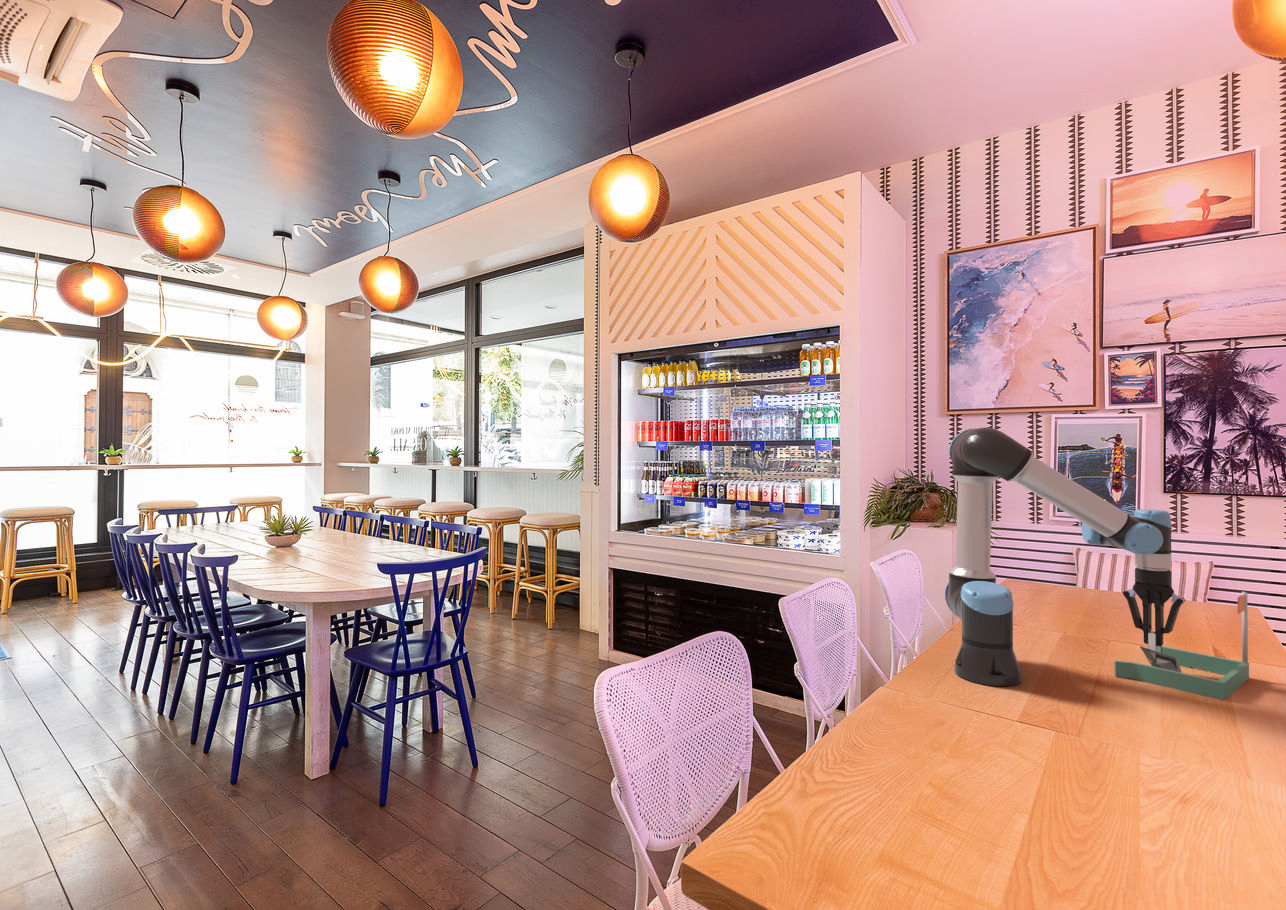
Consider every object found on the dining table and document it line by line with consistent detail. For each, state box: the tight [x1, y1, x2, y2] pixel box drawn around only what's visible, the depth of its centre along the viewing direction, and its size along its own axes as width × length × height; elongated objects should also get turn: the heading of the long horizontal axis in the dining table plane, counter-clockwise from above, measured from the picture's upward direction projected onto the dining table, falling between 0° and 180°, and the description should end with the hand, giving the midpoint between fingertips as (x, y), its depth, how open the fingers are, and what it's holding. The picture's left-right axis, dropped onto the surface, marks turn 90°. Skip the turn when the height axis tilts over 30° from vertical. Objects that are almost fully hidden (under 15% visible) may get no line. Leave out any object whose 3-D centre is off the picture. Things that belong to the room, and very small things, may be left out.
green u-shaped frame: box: [1113, 591, 1250, 701], centre depth 159 cm, size 21×27×22 cm
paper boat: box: [1139, 645, 1183, 673], centre depth 159 cm, size 12×6×9 cm
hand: (1153, 657), depth 164 cm, fingers closed
